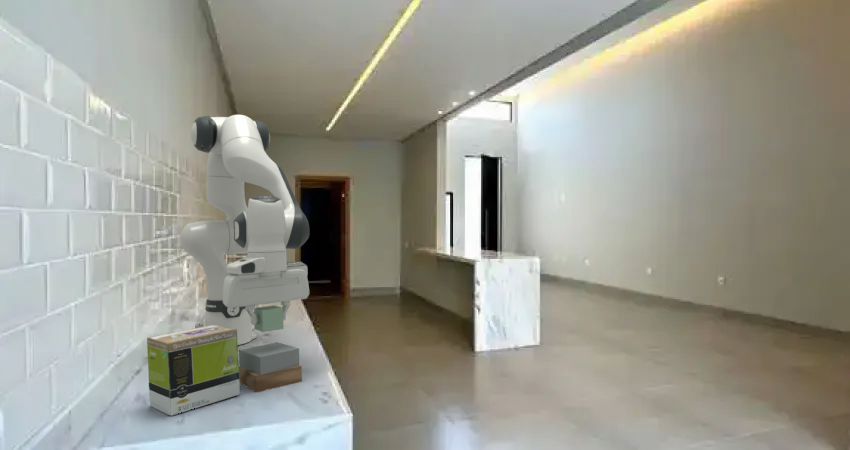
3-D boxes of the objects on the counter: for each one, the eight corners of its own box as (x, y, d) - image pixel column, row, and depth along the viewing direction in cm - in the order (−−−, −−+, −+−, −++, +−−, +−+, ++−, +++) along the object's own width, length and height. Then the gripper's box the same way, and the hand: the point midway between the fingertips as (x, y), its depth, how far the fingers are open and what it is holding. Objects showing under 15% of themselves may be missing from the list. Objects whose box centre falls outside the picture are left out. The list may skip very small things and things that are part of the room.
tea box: (217, 387, 115) (215, 323, 115) (240, 396, 109) (239, 328, 109) (147, 406, 104) (146, 335, 104) (169, 417, 97) (167, 341, 97)
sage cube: (254, 329, 119) (253, 308, 119) (274, 325, 122) (273, 305, 122) (263, 332, 115) (262, 310, 115) (283, 328, 119) (282, 307, 119)
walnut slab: (237, 383, 119) (237, 366, 119) (281, 373, 127) (280, 357, 127) (256, 394, 111) (256, 376, 111) (301, 383, 118) (301, 366, 118)
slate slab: (239, 366, 119) (238, 350, 119) (277, 358, 126) (276, 342, 126) (260, 375, 112) (260, 357, 112) (299, 365, 119) (299, 348, 119)
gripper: (301, 260, 128) (302, 314, 128) (219, 266, 115) (220, 326, 115) (313, 261, 123) (314, 317, 123) (229, 267, 110) (230, 330, 110)
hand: (268, 322), depth 119 cm, fingers closed on sage cube, 5 cm apart
